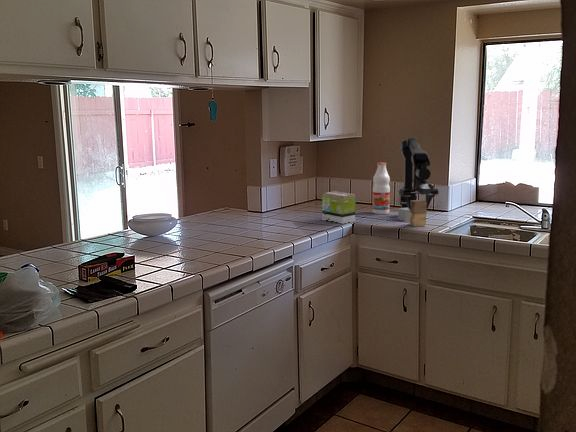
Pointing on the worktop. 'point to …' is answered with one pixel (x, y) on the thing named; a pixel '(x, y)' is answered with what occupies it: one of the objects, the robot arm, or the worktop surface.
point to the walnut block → (418, 207)
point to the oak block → (418, 219)
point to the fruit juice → (381, 190)
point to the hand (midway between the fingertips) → (418, 208)
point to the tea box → (338, 207)
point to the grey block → (404, 214)
